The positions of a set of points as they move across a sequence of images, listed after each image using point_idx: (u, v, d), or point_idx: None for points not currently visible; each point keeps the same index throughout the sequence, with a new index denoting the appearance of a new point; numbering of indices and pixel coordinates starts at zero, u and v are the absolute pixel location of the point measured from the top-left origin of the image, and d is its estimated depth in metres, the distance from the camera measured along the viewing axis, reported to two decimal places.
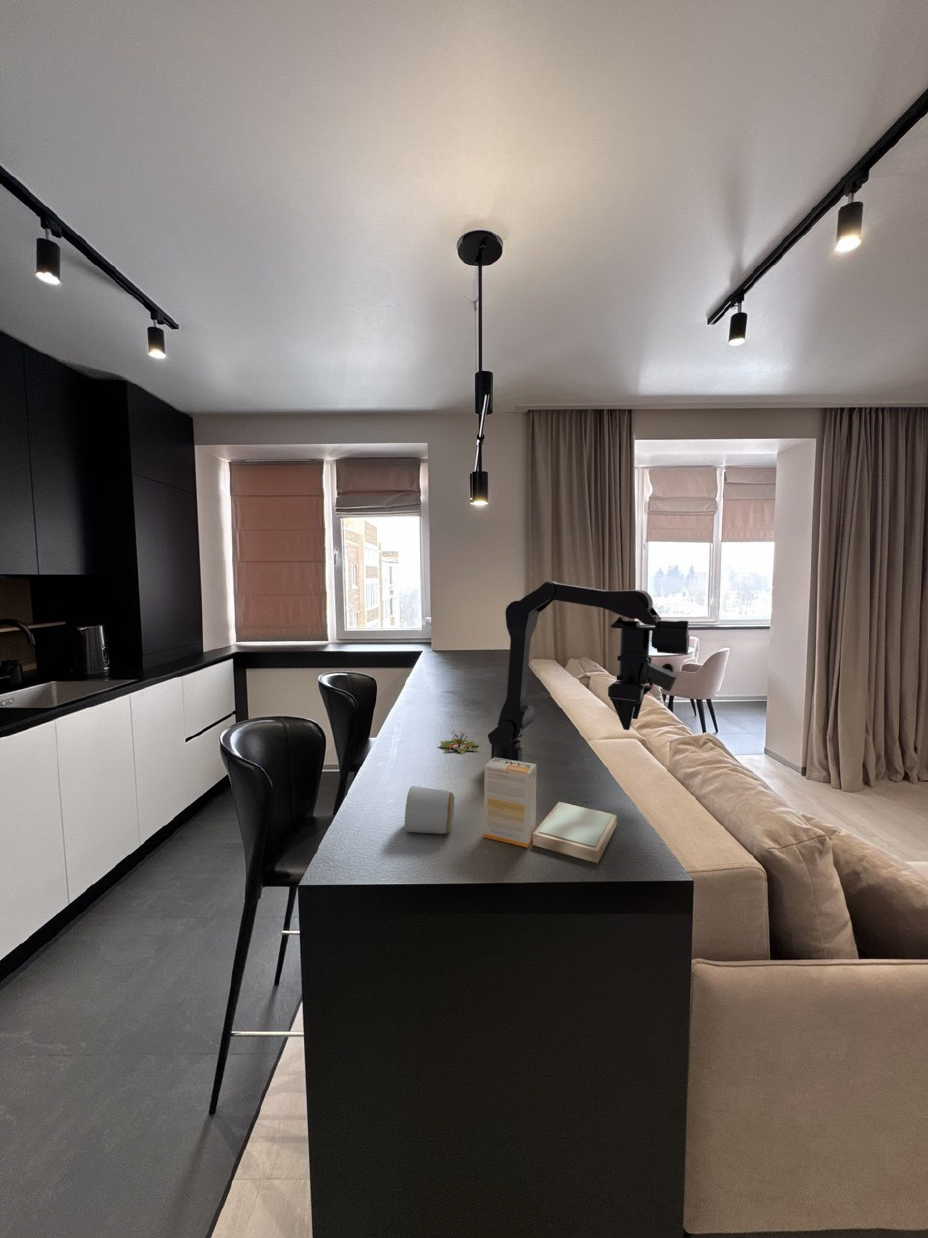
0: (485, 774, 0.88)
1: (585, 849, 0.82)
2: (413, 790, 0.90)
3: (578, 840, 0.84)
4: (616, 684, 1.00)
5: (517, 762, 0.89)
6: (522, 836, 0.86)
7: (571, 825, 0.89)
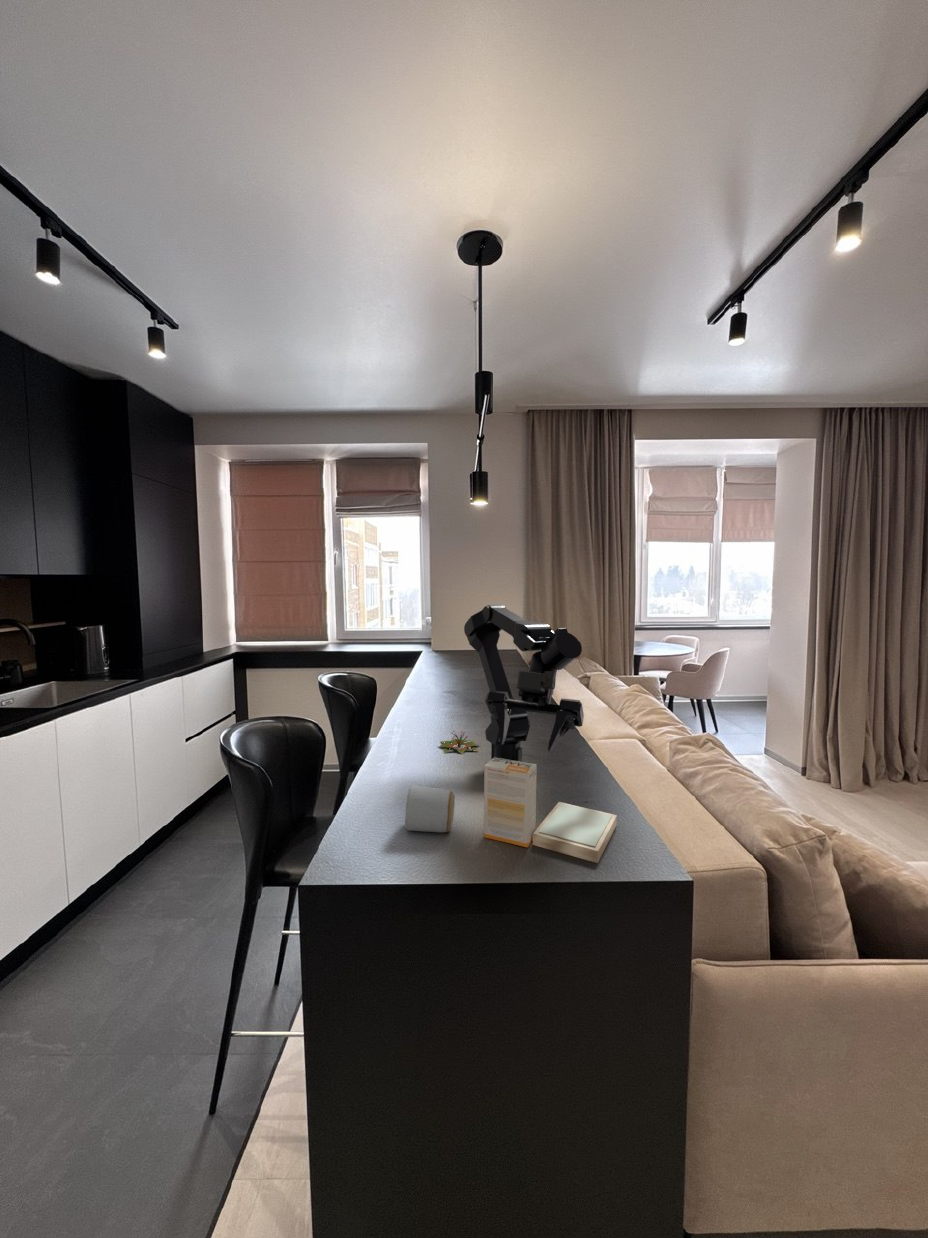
0: (485, 774, 0.88)
1: (585, 849, 0.82)
2: (413, 789, 0.90)
3: (578, 840, 0.84)
4: None
5: (517, 762, 0.89)
6: (522, 836, 0.86)
7: (571, 825, 0.89)
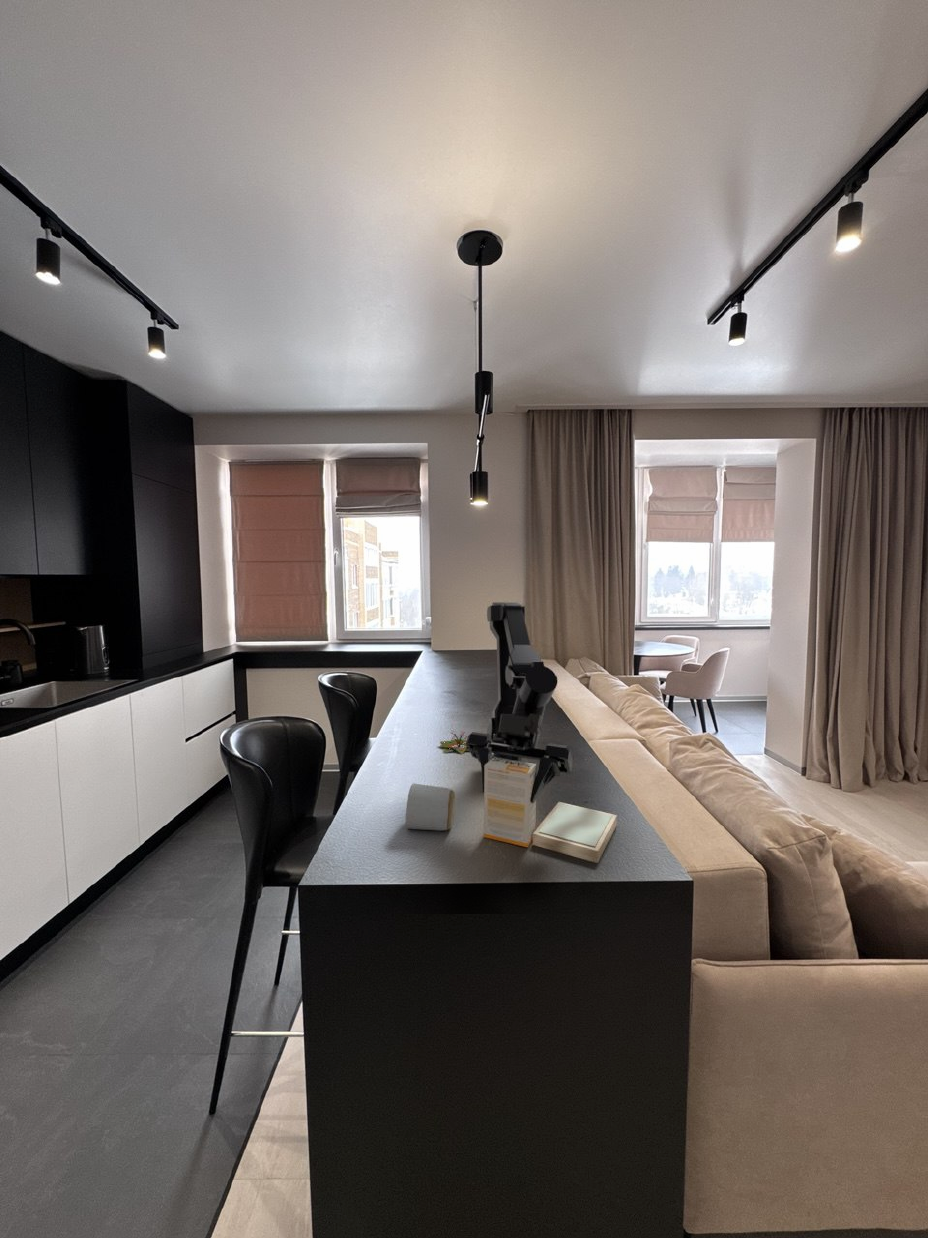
0: (485, 774, 0.88)
1: (585, 849, 0.82)
2: (414, 787, 0.91)
3: (578, 840, 0.84)
4: None
5: (517, 762, 0.89)
6: (522, 836, 0.86)
7: (571, 825, 0.89)
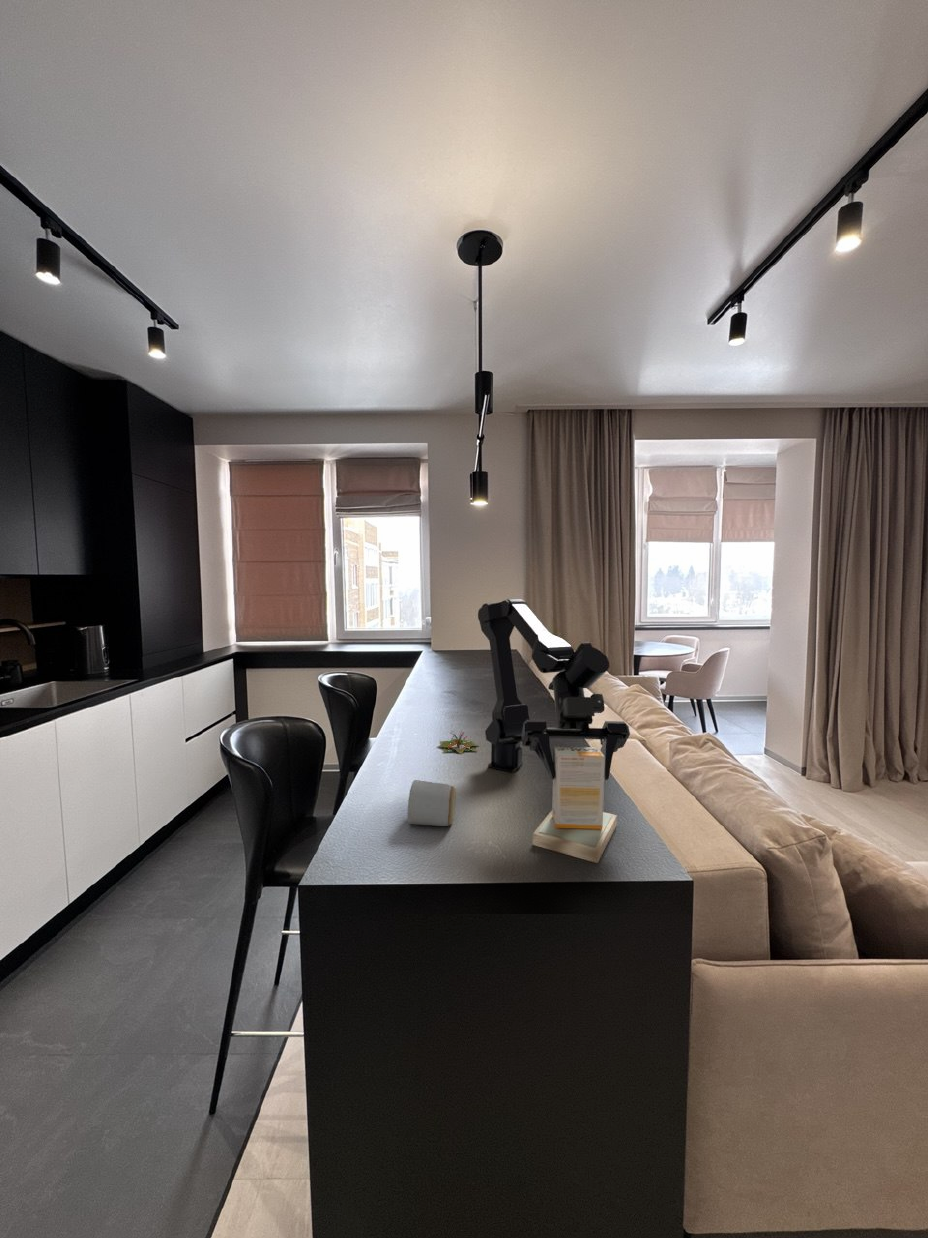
0: (558, 764, 0.87)
1: (585, 849, 0.82)
2: (416, 783, 0.93)
3: (578, 840, 0.84)
4: None
5: (581, 748, 0.90)
6: (597, 819, 0.87)
7: None
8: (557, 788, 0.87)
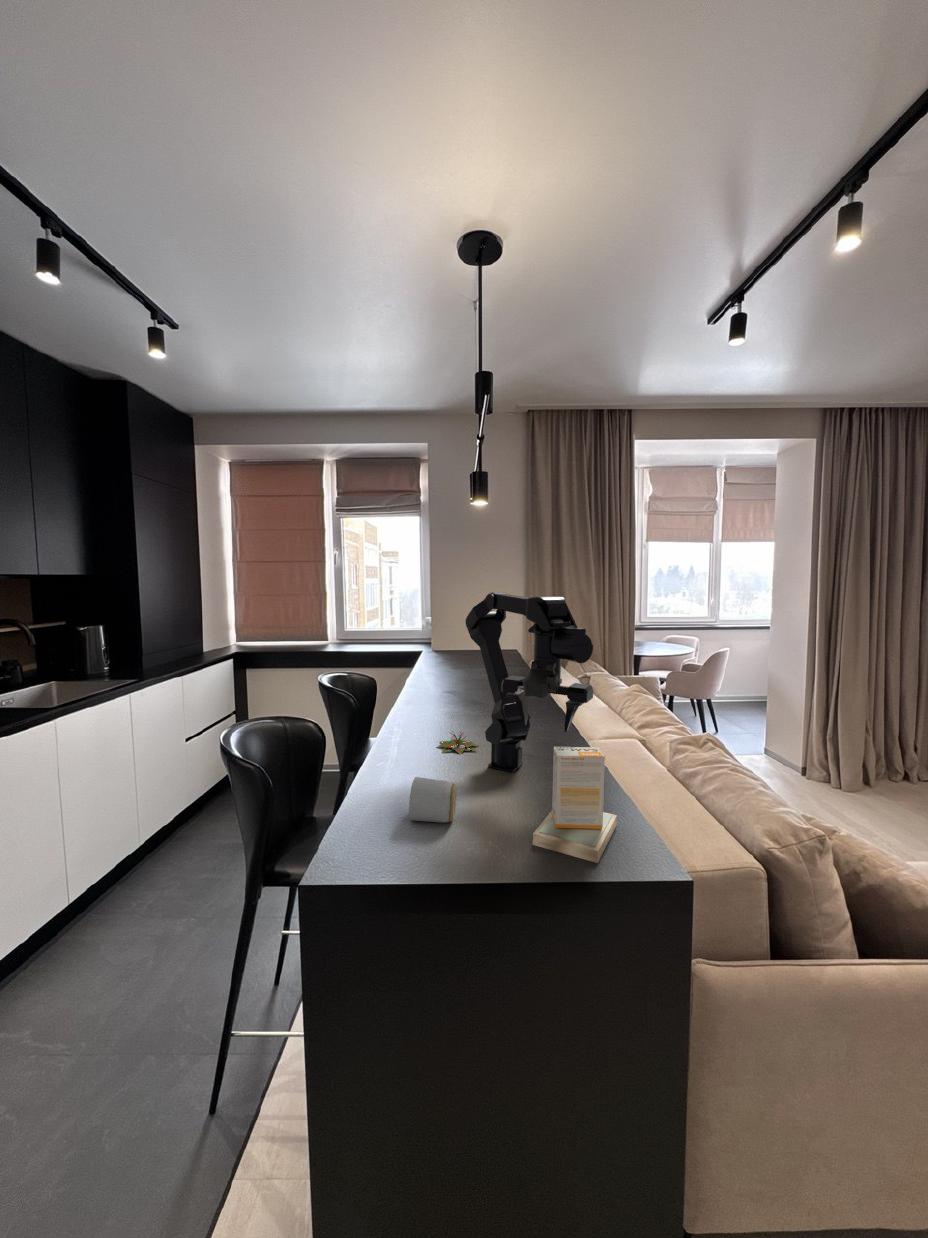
0: (558, 764, 0.87)
1: (585, 849, 0.82)
2: (417, 781, 0.94)
3: (578, 840, 0.84)
4: None
5: (581, 748, 0.90)
6: (597, 819, 0.87)
7: None
8: (557, 788, 0.87)
